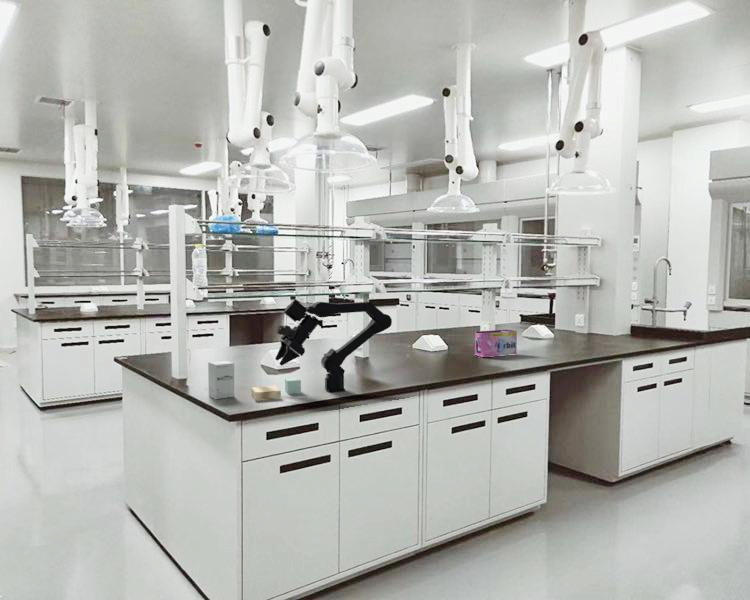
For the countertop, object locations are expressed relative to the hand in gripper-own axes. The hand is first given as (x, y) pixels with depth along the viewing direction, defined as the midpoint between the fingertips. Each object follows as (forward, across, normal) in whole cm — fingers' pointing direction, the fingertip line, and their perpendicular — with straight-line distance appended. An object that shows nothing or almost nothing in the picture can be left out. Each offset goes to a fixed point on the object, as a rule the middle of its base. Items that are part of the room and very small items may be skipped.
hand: (278, 362), depth 207 cm
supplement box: (+22, -2, -8) cm, 24 cm away
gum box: (-69, -52, +106) cm, 137 cm away
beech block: (+13, +5, +4) cm, 14 cm away
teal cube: (+6, 0, +12) cm, 13 cm away
